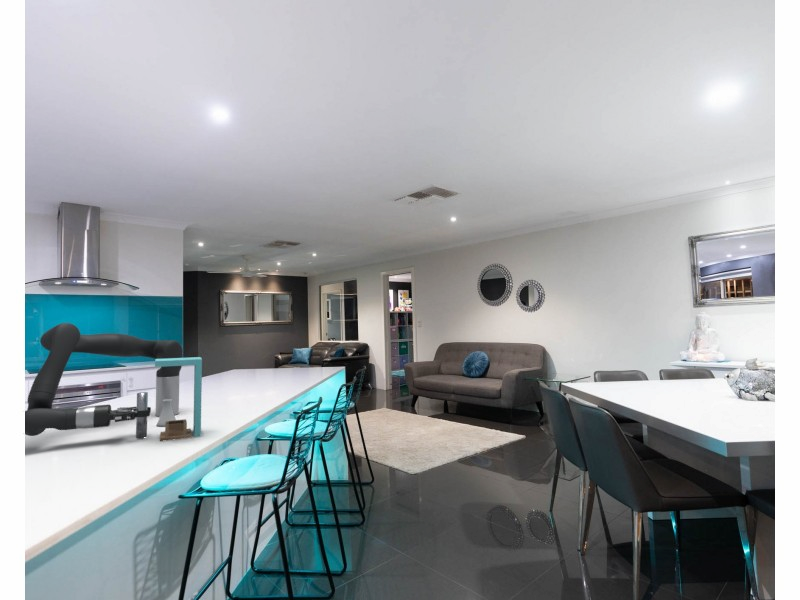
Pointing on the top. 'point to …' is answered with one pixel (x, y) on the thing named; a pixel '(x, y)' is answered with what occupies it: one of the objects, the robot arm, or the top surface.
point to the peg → (141, 421)
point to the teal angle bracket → (197, 384)
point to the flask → (166, 413)
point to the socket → (175, 430)
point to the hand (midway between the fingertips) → (150, 411)
